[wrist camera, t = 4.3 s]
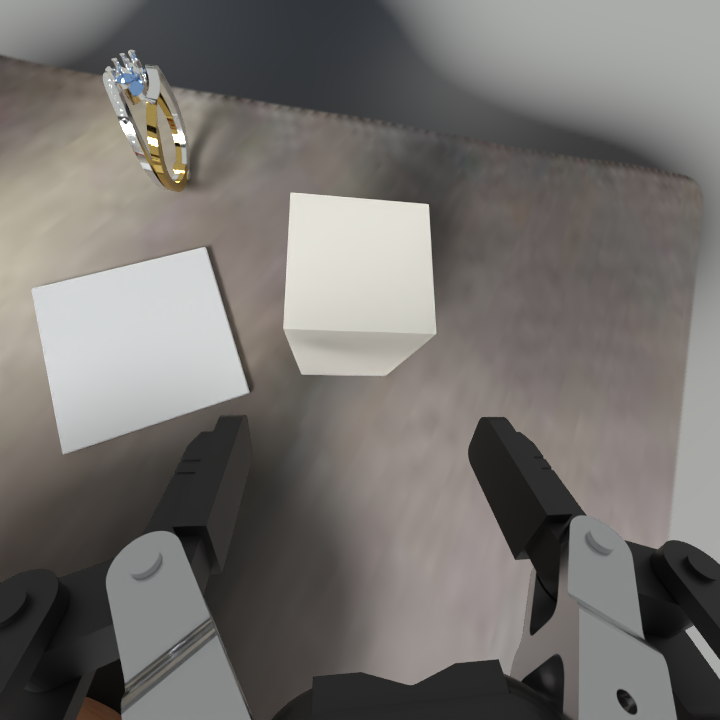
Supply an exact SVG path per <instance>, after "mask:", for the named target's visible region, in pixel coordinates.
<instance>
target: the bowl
mask: <svg viewBox="0 0 720 720" xmlns="http://www.w3.org/2000/svg"><path fill="white" fill-rule="evenodd" d="M76 720H122V716H121V715H120V714H119V713H117V712H116V711H115V710H113V709H111V708H109V707H108V706H106V705H104V704H102V703H100V702H98V701H95V700H93V699H91V698H88V697H85V699H84V701H83V704H82V706H81V709H80V711H79V714H78V716H77V718H76Z"/></svg>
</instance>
